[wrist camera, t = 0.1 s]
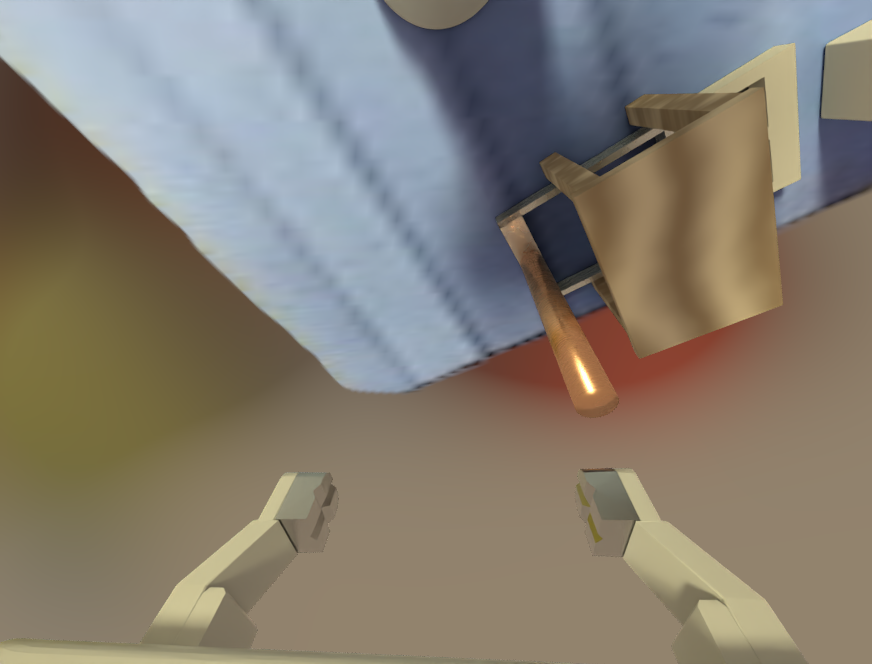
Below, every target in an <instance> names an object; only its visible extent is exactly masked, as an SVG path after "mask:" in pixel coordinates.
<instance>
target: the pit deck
mask: <svg viewBox="0 0 872 664" xmlns="http://www.w3.org/2000/svg"><path fill="white" fill-rule="evenodd" d="M755 87H764V92H765V104H766V115H767V127H768V138H769V150H770V161H771V173H772V184H773V192H775V191H777V190H779V189H781V188H783V187H785V186H788V185H790V184H792V183H794V182H796V181H798V180H800V179H801V171H800V148H799V124H798V101H797V77H796V54H795V43H792V44H786V45H779V46H774V47H772V48H771V49H769V50H767V51H766V52H764V53H762V54H761V55H759V56H758V57H756V58H754V59H753V60H751V61H749V62H748V63H746V64H745V65H743V66H741V67H740V68H738V69H736V70H735V71H733V72H732V73H730V74H728V75H727V76H725V77H723V78H722V79H720V80H718V81H717V82H715V83H714V84H712V85H710V86H709V87H707V88H705V89H704V90H702V91H701V92H699V93H743V92H744V91H746V90H748V89H750V88H755ZM674 133H675V132H674Z"/></svg>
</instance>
